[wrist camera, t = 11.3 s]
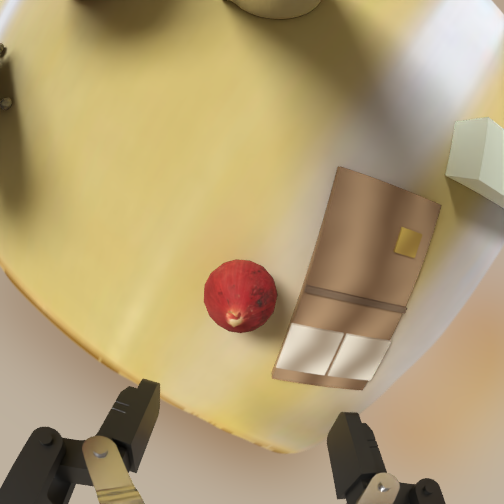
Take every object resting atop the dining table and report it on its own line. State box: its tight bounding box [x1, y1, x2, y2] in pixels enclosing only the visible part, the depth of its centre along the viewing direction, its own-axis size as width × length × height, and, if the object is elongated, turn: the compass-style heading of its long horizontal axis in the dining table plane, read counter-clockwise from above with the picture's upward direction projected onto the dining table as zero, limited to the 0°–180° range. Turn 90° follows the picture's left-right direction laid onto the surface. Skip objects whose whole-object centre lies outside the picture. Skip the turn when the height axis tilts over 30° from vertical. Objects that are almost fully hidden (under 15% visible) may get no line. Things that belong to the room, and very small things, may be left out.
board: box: [272, 167, 441, 390], centre depth 26 cm, size 11×22×1 cm, turn 166°
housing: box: [445, 117, 504, 209], centre depth 20 cm, size 11×6×6 cm, turn 76°
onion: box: [204, 260, 277, 333], centre depth 23 cm, size 6×6×8 cm
